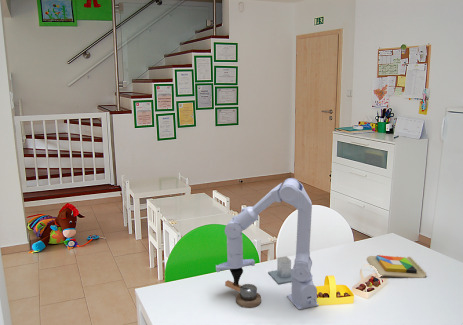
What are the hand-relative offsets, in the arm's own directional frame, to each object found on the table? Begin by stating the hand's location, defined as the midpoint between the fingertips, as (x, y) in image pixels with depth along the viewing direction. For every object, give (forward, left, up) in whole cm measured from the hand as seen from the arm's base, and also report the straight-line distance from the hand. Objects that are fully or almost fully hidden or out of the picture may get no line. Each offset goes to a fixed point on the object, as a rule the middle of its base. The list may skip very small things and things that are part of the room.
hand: (236, 286), depth 154 cm
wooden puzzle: (-4, -68, -3) cm, 68 cm away
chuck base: (-7, -2, -3) cm, 8 cm away
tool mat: (+5, -22, -3) cm, 23 cm away
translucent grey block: (+5, -22, -2) cm, 22 cm away
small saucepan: (-4, 0, -1) cm, 4 cm away
